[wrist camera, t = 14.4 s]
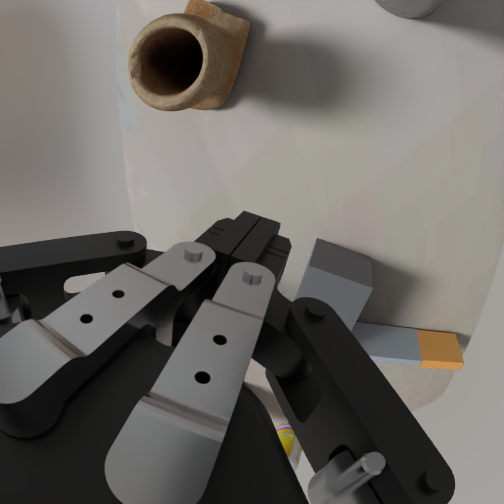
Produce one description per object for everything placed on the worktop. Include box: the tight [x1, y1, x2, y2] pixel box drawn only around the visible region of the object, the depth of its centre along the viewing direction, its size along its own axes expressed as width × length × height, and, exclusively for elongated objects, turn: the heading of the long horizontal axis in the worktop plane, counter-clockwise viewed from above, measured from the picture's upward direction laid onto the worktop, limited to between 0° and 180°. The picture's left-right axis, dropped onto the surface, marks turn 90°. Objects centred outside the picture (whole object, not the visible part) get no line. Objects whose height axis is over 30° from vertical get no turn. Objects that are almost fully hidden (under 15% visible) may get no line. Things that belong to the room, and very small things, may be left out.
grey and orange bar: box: [351, 322, 464, 370], centre depth 41 cm, size 19×2×7 cm, turn 90°
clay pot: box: [128, 0, 251, 111], centre depth 30 cm, size 15×12×15 cm
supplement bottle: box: [277, 424, 302, 471], centre depth 58 cm, size 7×7×13 cm
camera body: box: [295, 239, 373, 331], centre depth 42 cm, size 14×8×8 cm, turn 166°
